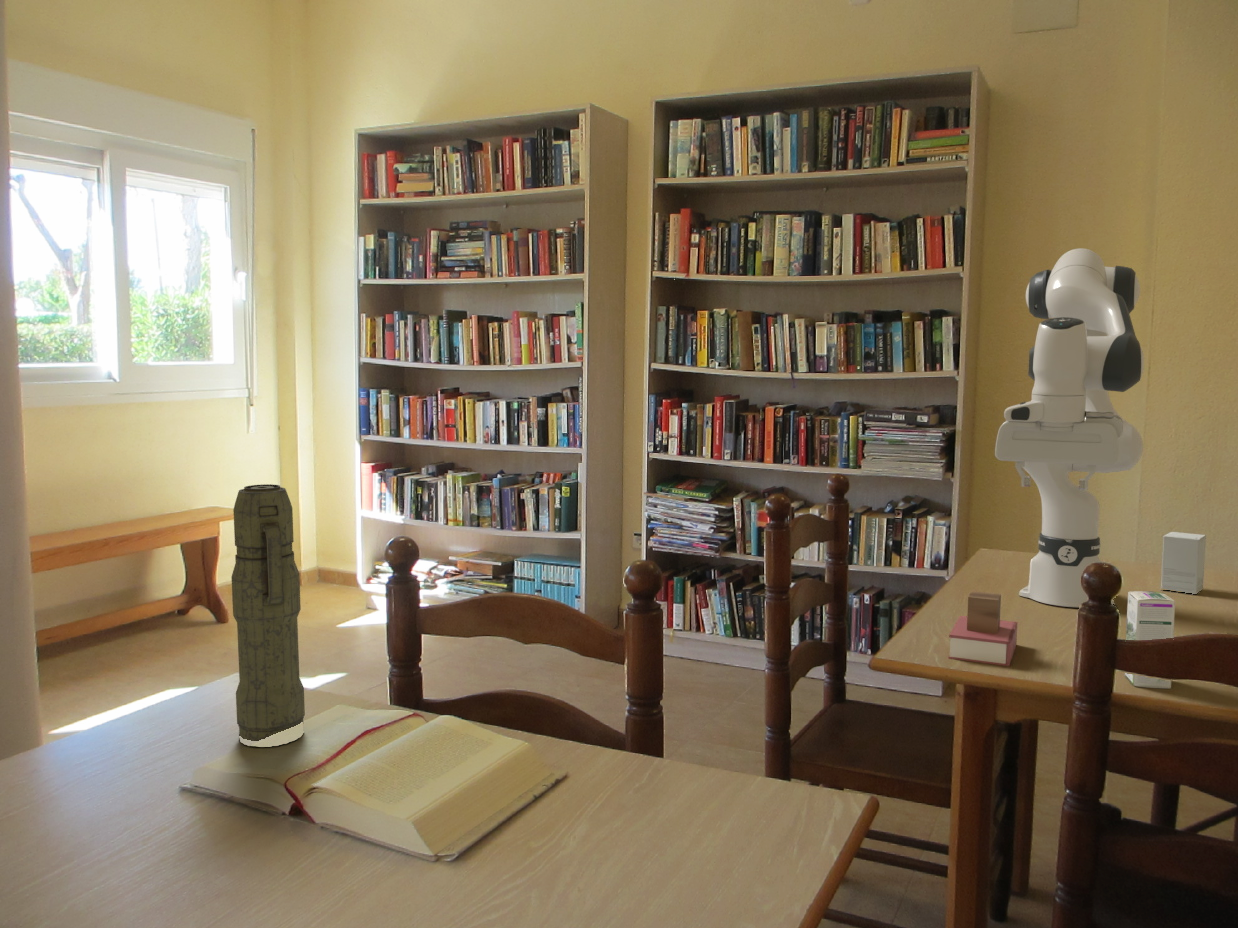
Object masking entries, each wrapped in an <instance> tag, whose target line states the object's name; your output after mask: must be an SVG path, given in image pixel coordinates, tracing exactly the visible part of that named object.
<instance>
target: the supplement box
mask: <svg viewBox="0 0 1238 928" xmlns="http://www.w3.org/2000/svg"><path fill="white" fill-rule="evenodd" d="M1206 539H1207V535H1206V534H1198V533H1190V532H1187V533H1186V532H1178V531H1170V532H1168V533H1167V534H1164V535H1163V536H1162V556H1161V557H1162V558H1161V559H1162V560H1161V578H1160V589H1161V588H1163V589H1167V590H1174V591H1181V592H1185V593H1184V594H1186V593H1192V594H1191V595H1193V594H1197V593H1198V592H1199V591H1201V590H1202V589H1203V590H1204V580H1205V579H1204V578H1205V577H1204V576H1205V561H1206V560H1205V559H1206V542H1207V541H1206ZM1203 590H1202V591H1203ZM1202 591H1201V592H1202ZM1199 593H1200V592H1199ZM1199 593H1198V594H1199ZM1198 594H1197V595H1198Z"/></svg>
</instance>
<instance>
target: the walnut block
mask: <svg viewBox="0 0 1238 928" xmlns="http://www.w3.org/2000/svg"><path fill="white" fill-rule="evenodd" d="M967 597H968V598H967V613H966V614H967V615H966V616H967V630H970V631H978V632H986V633H995V634H997V632H998V629H999V627H1000V620H1001V603H1002V593H995V592H985V591H974V590H971V591H970V593H969V595H968V596H967Z"/></svg>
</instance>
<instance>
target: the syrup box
mask: <svg viewBox="0 0 1238 928" xmlns="http://www.w3.org/2000/svg"><path fill="white" fill-rule="evenodd" d="M1127 593H1128V594H1127V605H1126V606H1127V607H1126V611H1127V612H1126V630H1125V635H1126V636H1125V641H1126V640H1152V639H1166V638H1174V636H1175V635H1174V633H1175V613H1176V612H1175V611H1176V601H1175V600H1174V599H1173V598H1171V597H1170V596H1168V595H1167V594H1166V593H1164V592H1160V591H1147V590H1146V591H1145V590H1136V591H1128V592H1127ZM1123 675H1124V677H1125V678H1126V679H1127V680H1128V681H1129V682H1130V683H1131V684H1132V685H1133V686H1134V687H1139V688H1148V689H1149V688H1151V689H1169V690H1171V688H1172V680H1171V681H1165V680H1161V679H1156V678H1148V677H1145V676H1138V675H1134V674H1127V673H1123Z"/></svg>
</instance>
